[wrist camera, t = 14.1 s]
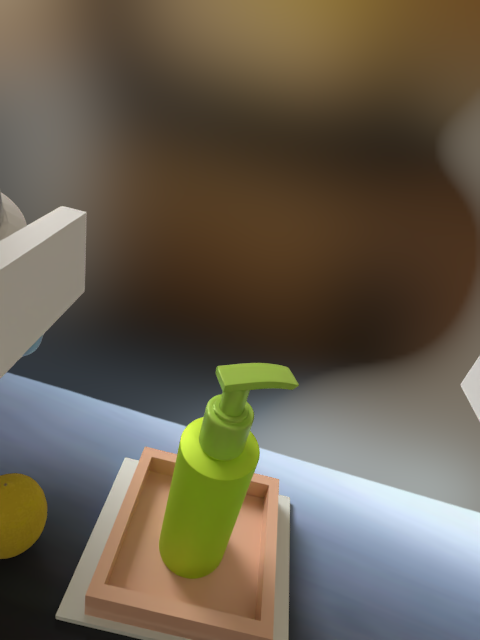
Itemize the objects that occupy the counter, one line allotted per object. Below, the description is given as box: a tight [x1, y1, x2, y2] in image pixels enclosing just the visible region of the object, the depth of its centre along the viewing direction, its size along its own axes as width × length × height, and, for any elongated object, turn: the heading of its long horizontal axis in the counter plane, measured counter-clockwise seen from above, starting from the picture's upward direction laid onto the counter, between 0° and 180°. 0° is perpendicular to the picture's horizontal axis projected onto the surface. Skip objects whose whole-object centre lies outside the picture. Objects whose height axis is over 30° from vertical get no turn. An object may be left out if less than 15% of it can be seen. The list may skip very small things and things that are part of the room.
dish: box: [84, 447, 279, 640], centre depth 37 cm, size 14×14×3 cm
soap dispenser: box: [159, 363, 299, 579], centre depth 32 cm, size 6×7×20 cm
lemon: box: [0, 473, 47, 559], centre depth 33 cm, size 6×6×8 cm
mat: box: [55, 458, 290, 640], centre depth 38 cm, size 18×15×1 cm
